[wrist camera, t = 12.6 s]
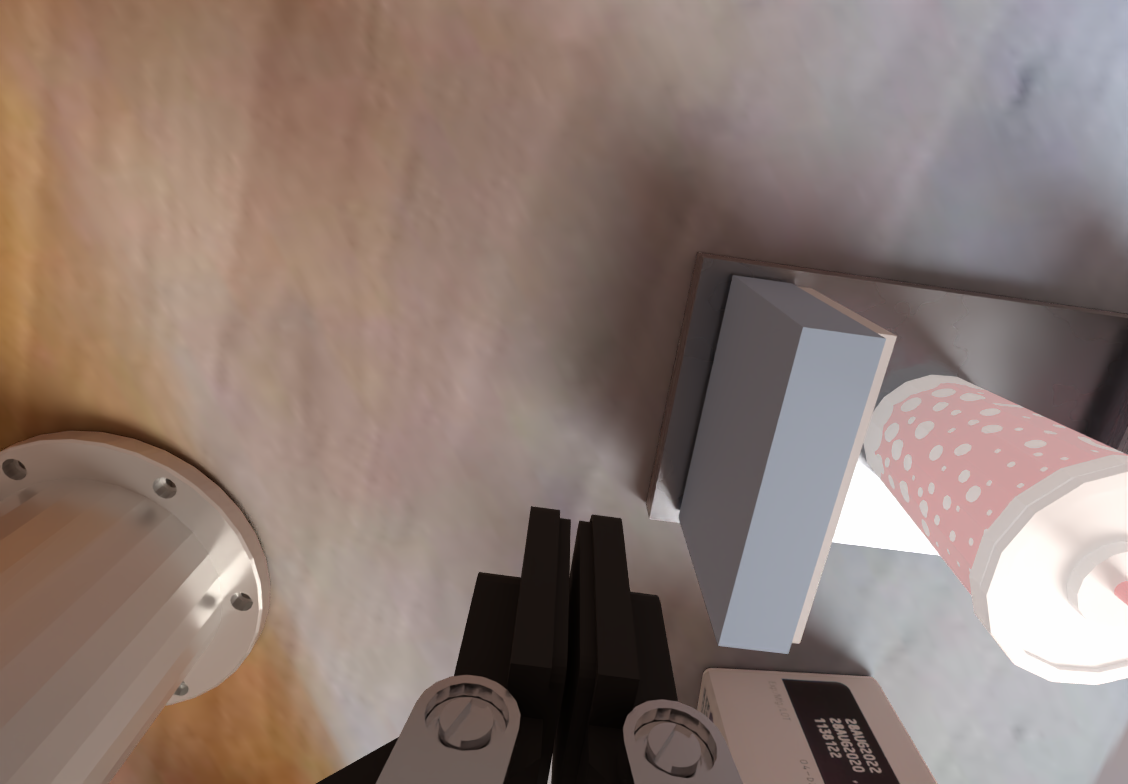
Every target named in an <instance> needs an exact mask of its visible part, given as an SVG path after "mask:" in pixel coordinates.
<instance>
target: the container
mask: <svg viewBox="0 0 1128 784" xmlns="http://www.w3.org/2000/svg"><path fill="white" fill-rule="evenodd" d="M697 710H698V711H699V712H701V713H702V714H704V715H705V716H707V717H708V718H709V719H710V720H711V721H712V722H713V723H714V724H715V725H716V726H717V727H718V729H719V731H720V732H721V734H722V736H723V737H724V739H725V741H726V743H727V746H728V748H729V750H730V753H731V755H732V758H733V760H734V763H735V765H736V767H737V770H738V772H739V775H740V777H741V779H742V782H743V784H938V783H937V782H936V780H935V778H934V777H933V775H932V773H931V772H930V770H929V768H928V766H927V765H926V763H925V761H924V760H923V758H922V756H921V755H920V753H919V751H918V749H917V748H916V746H915V744H914V743H913V741H912V739H911V738H910V736H909V734H908V732H907V731H906V729H905V727H904V726H903V724H902V722H901V721H900V719H899V717H898V715H897V714H896V712H895V710H894V709H893V707H892V705H891V704H890V702H889V700H888V698H887V697H886V695H885V693H884V692H883V690H882V688H881V687H880V685H879V683H878V682H877V681H876V680H875V679H874V678H873V677H870V676H853V675H835V674H817V673H798V672H780V671H762V670H744V669H726V668H708V669H706V670H705V671H704V673H703V677H702V683H701V689H700V695H699V700H698V706H697Z"/></svg>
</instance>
